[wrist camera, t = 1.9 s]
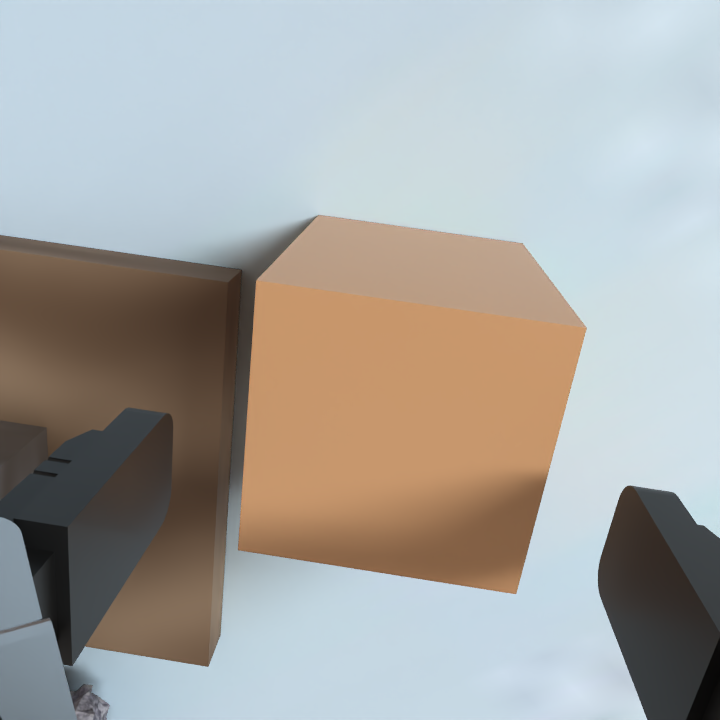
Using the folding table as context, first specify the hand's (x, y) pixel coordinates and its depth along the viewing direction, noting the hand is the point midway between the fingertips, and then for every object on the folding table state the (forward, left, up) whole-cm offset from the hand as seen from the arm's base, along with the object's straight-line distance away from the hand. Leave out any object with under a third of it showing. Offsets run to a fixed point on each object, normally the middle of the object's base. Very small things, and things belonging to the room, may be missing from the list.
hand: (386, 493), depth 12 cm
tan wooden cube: (0, 0, -9) cm, 9 cm away
